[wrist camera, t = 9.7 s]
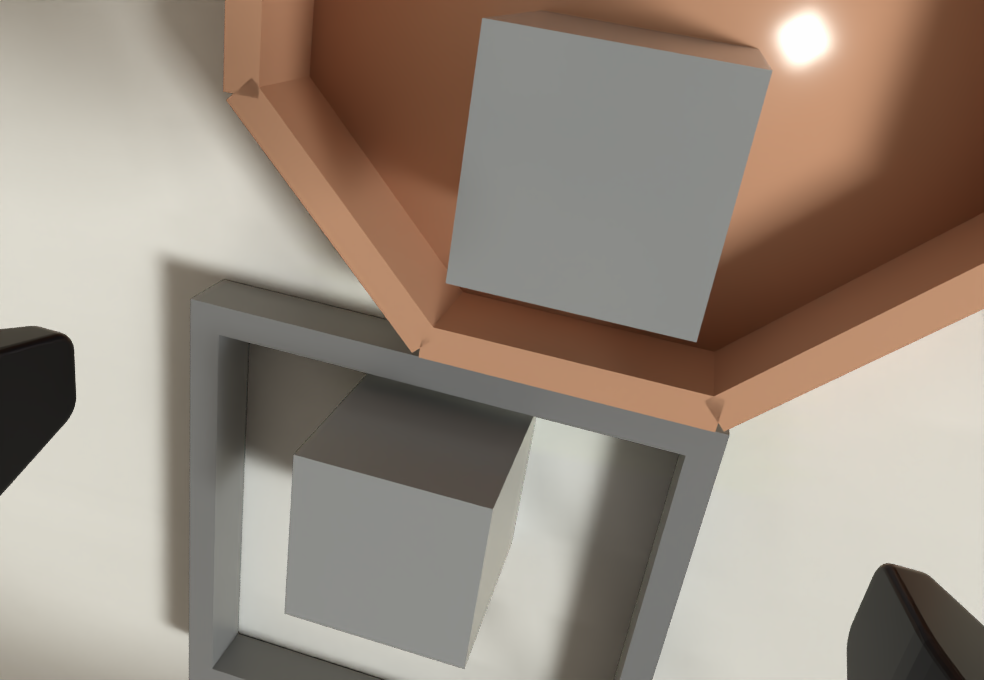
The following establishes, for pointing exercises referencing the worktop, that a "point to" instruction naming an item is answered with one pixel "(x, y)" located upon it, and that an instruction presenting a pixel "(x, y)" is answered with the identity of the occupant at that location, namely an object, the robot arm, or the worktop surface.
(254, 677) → the parts tray
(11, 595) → the worktop surface
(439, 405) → the matte grey cube
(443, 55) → the bowl
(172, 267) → the worktop surface
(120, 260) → the worktop surface
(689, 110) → the pale grey block
